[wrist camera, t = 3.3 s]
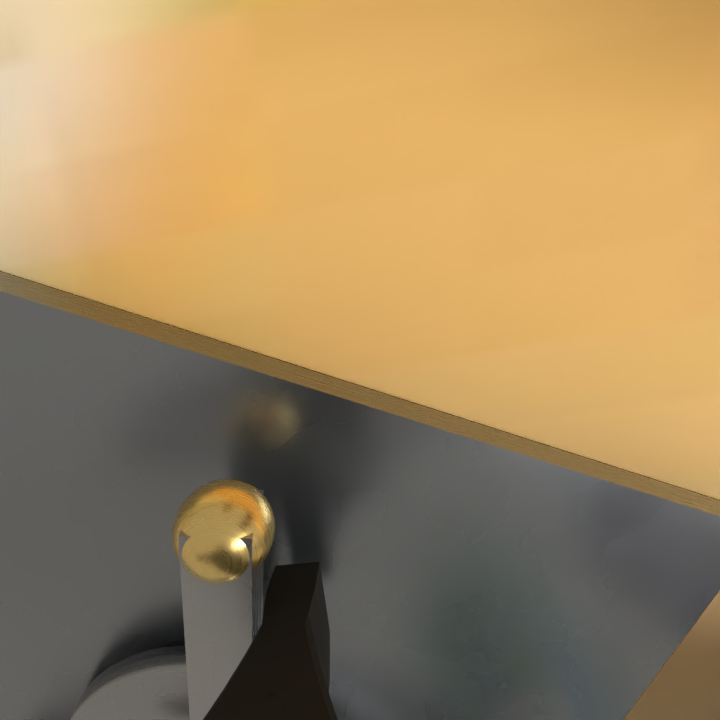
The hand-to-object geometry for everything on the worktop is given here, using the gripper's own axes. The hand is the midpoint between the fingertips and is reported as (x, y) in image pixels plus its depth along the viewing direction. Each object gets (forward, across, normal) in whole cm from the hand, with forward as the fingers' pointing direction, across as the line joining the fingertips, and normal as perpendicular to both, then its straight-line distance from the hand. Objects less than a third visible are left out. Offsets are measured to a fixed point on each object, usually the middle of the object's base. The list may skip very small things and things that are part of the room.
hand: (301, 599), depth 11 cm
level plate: (+2, +2, +5) cm, 6 cm away
